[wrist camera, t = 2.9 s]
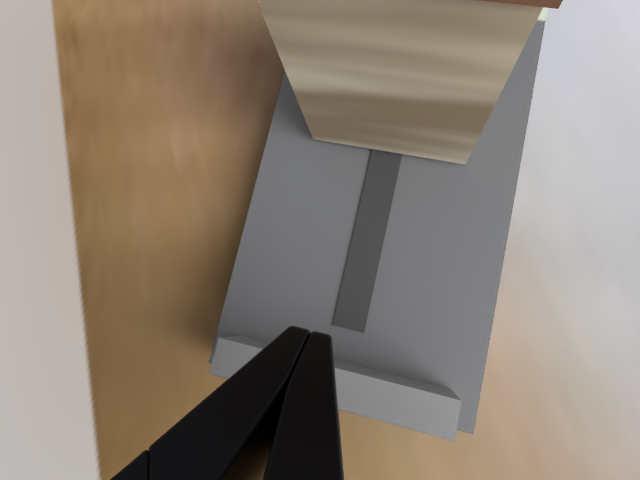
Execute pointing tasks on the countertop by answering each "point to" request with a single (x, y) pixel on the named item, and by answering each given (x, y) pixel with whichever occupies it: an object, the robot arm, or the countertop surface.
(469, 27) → the wooden rectangular block
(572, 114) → the countertop surface
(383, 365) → the grooved grey tray
